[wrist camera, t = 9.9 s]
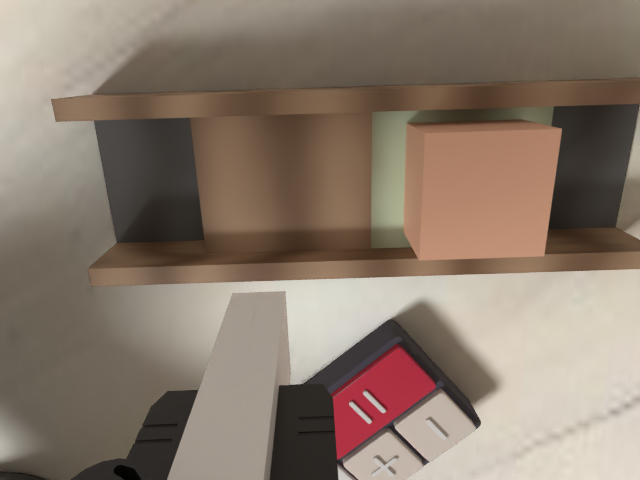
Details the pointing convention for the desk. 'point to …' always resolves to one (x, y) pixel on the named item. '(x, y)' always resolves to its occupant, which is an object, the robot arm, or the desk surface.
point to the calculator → (392, 407)
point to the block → (479, 188)
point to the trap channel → (335, 178)
